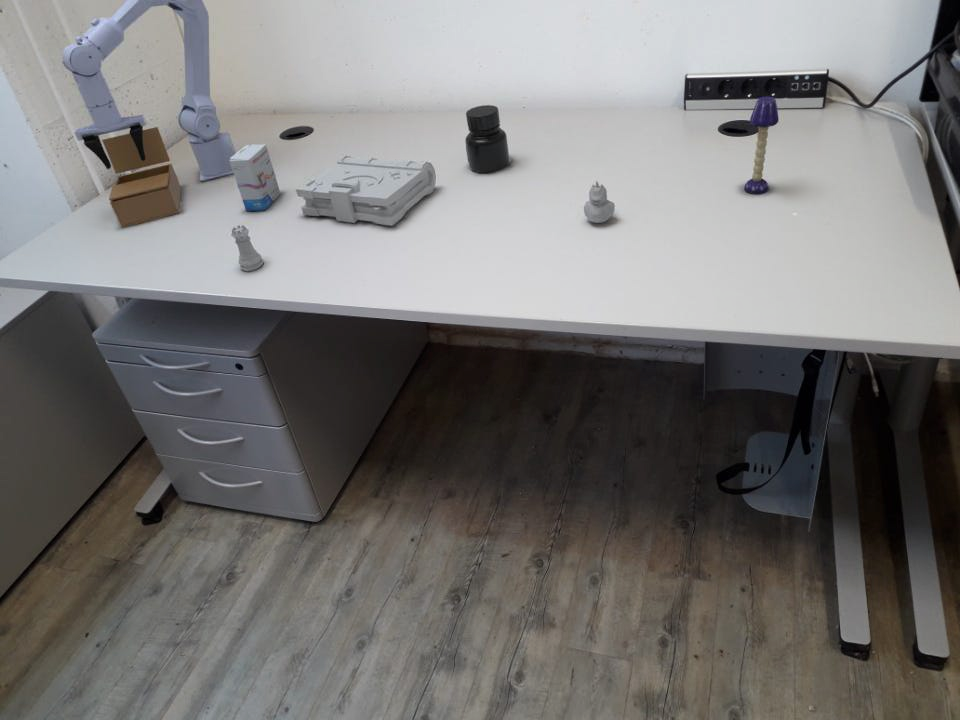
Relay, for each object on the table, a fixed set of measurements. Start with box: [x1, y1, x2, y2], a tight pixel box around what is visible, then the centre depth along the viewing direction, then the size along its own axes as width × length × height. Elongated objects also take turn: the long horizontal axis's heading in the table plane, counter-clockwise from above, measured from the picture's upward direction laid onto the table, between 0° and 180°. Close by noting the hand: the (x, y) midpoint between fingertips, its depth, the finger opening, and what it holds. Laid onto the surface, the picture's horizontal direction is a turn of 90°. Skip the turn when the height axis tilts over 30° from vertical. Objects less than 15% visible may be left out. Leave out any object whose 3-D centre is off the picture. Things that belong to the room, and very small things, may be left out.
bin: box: [108, 163, 182, 228], centre depth 171 cm, size 16×12×7 cm
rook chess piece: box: [231, 224, 264, 272], centre depth 140 cm, size 4×4×8 cm
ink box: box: [230, 144, 281, 212], centre depth 162 cm, size 9×5×12 cm, turn 168°
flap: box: [101, 126, 171, 175], centre depth 174 cm, size 8×12×1 cm
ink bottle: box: [464, 104, 510, 174], centre depth 161 cm, size 10×9×12 cm
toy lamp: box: [743, 96, 780, 195], centre depth 133 cm, size 5×5×17 cm
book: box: [295, 154, 437, 227], centre depth 156 cm, size 19×28×8 cm
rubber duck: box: [583, 180, 616, 224], centre depth 135 cm, size 5×7×8 cm
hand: (126, 163), depth 170 cm, fingers open, 7 cm apart
